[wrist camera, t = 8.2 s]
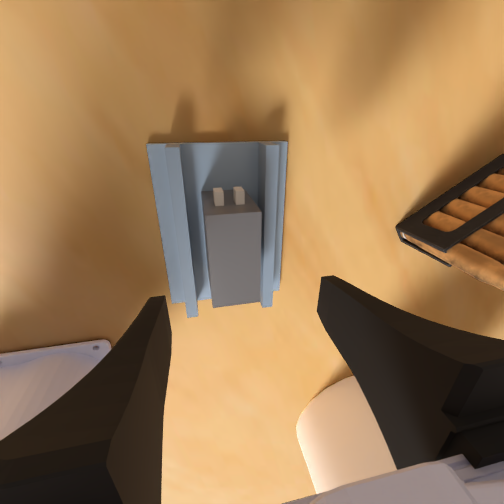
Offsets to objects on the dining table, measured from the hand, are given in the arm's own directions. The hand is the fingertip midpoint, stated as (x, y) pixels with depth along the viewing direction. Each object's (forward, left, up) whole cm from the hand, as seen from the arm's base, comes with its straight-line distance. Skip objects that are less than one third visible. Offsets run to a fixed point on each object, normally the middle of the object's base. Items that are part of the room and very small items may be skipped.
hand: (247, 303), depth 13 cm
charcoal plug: (0, 0, -9) cm, 9 cm away
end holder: (0, 0, -9) cm, 9 cm away
